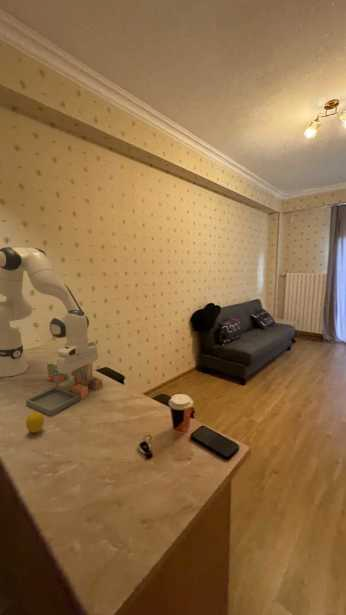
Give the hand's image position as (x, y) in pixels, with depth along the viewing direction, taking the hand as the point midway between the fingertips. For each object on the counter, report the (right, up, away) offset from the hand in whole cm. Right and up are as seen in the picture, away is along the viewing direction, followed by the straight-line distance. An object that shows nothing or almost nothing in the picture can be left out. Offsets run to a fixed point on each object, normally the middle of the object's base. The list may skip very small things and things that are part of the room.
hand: (79, 376), depth 120 cm
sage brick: (-8, -8, +6) cm, 13 cm away
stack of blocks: (-10, -7, +17) cm, 21 cm away
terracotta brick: (0, -9, +2) cm, 9 cm away
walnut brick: (+4, -8, +9) cm, 13 cm away
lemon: (-7, -14, -25) cm, 30 cm away
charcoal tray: (-9, -10, -6) cm, 15 cm away
